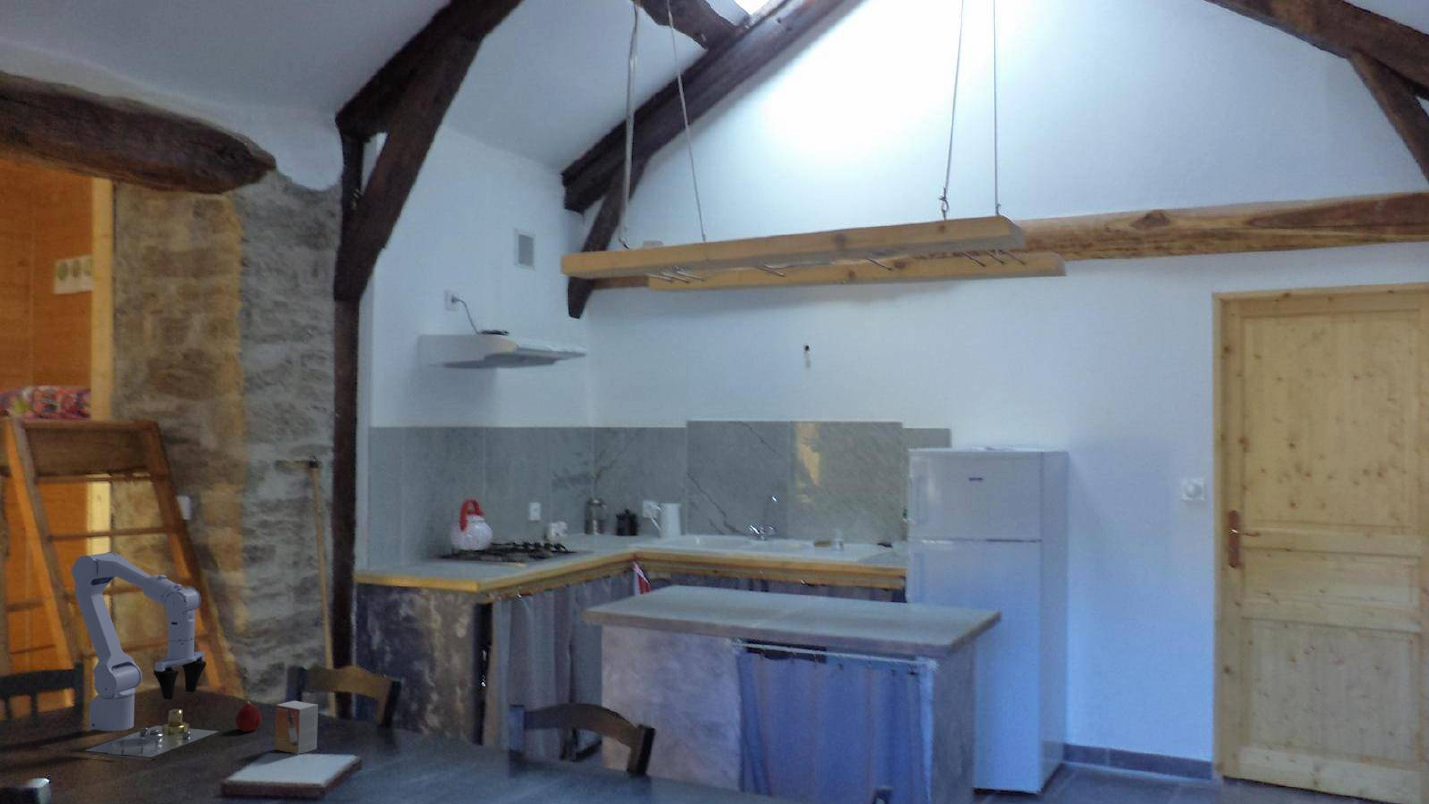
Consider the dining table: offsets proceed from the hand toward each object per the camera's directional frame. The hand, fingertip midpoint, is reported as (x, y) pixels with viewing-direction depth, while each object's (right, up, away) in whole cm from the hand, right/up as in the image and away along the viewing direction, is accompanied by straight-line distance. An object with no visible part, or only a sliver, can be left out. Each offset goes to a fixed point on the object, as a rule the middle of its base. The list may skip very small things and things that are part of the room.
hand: (179, 695), depth 264 cm
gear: (-1, -9, 0) cm, 9 cm away
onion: (+16, -10, +2) cm, 19 cm away
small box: (+32, -10, -10) cm, 35 cm away
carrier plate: (-2, -10, -8) cm, 13 cm away
